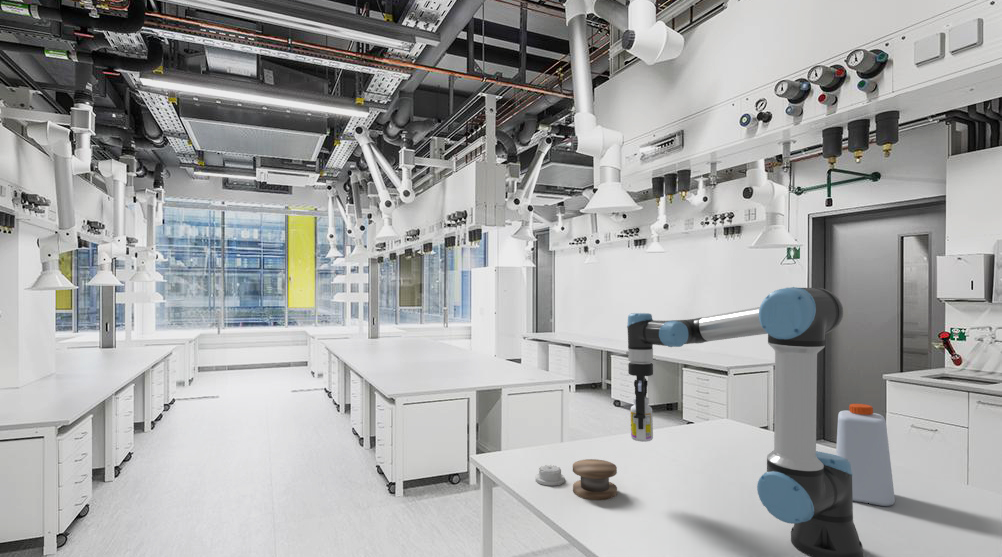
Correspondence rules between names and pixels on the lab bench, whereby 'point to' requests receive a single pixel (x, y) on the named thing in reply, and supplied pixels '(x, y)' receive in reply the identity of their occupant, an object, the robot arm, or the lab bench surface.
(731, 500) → the lab bench surface
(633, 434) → the supplement bottle
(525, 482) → the lab bench surface
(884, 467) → the plastic bottle
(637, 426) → the robot arm
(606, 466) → the bobbin
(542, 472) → the mechanical component
